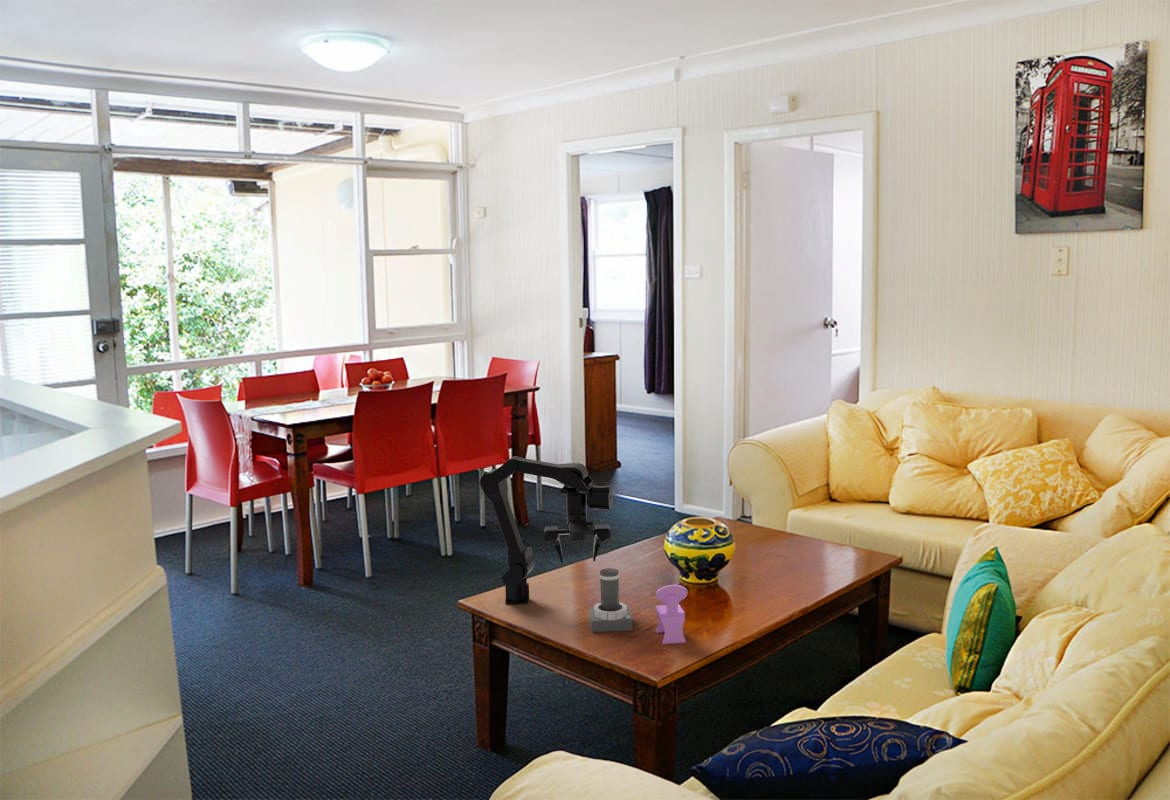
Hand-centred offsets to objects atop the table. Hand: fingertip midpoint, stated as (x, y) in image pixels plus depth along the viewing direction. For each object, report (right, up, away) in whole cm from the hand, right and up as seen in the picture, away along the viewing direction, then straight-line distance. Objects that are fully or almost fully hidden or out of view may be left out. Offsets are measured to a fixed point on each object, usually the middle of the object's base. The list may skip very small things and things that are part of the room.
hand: (577, 561), depth 273 cm
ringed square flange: (+9, -15, -14) cm, 22 cm away
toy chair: (+24, -16, -23) cm, 37 cm away
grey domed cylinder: (+9, -12, -14) cm, 20 cm away
